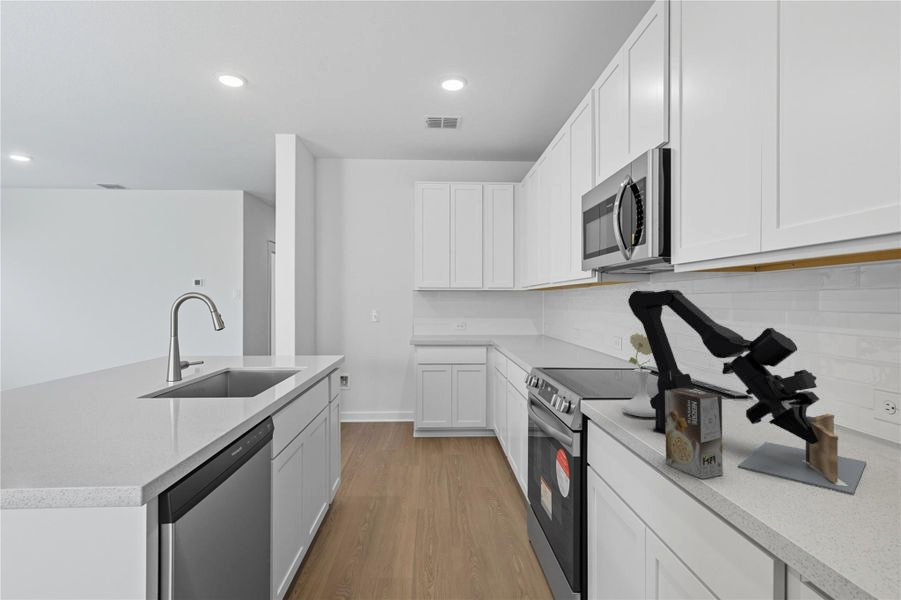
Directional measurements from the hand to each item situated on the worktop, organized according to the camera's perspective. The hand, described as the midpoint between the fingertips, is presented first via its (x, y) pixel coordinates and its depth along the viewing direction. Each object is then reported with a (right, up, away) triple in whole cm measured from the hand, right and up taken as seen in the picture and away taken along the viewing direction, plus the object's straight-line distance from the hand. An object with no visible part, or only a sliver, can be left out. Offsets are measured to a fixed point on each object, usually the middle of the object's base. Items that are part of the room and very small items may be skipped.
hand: (815, 442), depth 90 cm
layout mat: (+1, -6, +4) cm, 8 cm away
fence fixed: (+7, -6, +7) cm, 11 cm away
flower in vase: (-15, -6, +46) cm, 49 cm away
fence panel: (+1, -5, -1) cm, 6 cm away
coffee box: (-24, -6, +2) cm, 25 cm away
